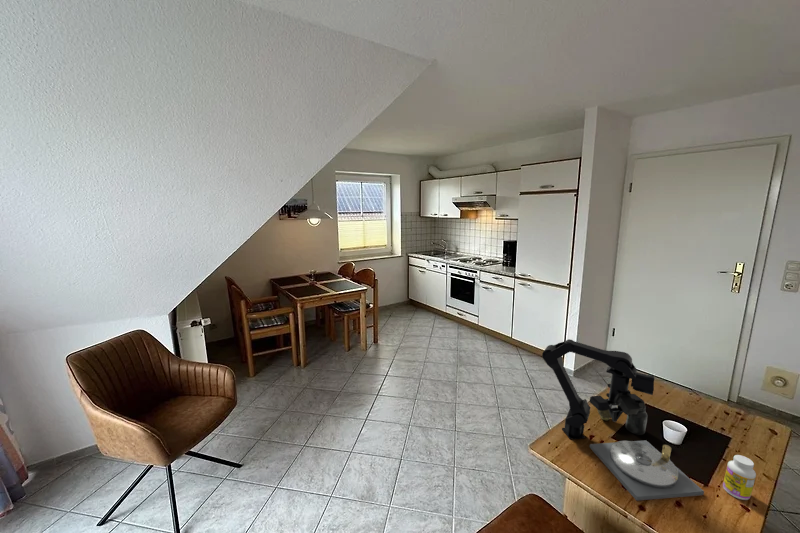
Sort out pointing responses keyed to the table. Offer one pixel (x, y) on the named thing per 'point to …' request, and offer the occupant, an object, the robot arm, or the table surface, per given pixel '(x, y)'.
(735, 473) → the supplement bottle
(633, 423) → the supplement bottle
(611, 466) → the plate
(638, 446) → the grey round piece
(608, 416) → the cup
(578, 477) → the table surface
